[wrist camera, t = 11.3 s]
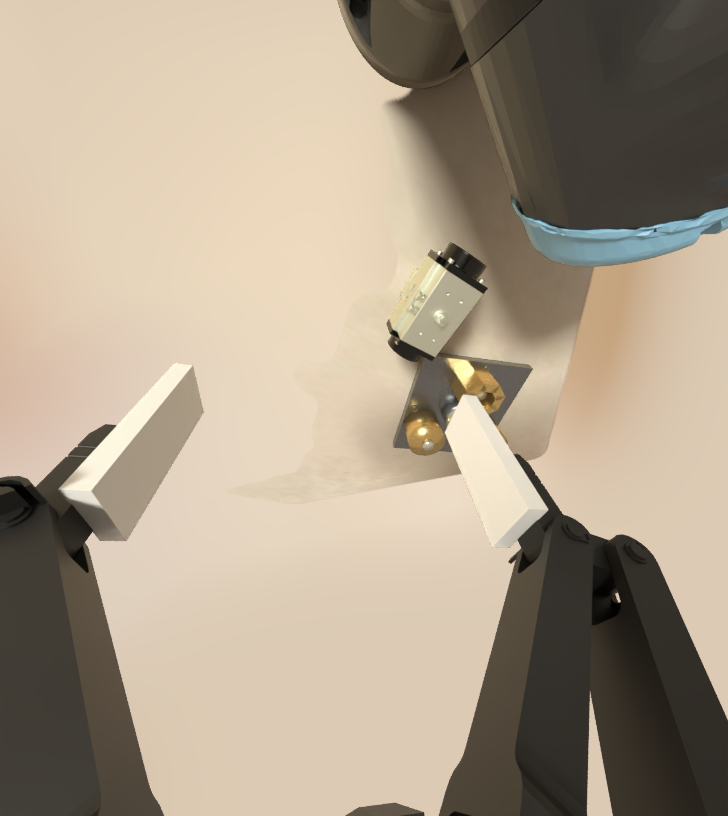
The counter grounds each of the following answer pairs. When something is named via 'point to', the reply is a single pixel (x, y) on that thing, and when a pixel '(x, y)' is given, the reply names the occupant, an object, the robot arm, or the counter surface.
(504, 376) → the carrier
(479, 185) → the counter surface
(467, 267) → the pneumatic valve
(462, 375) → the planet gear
